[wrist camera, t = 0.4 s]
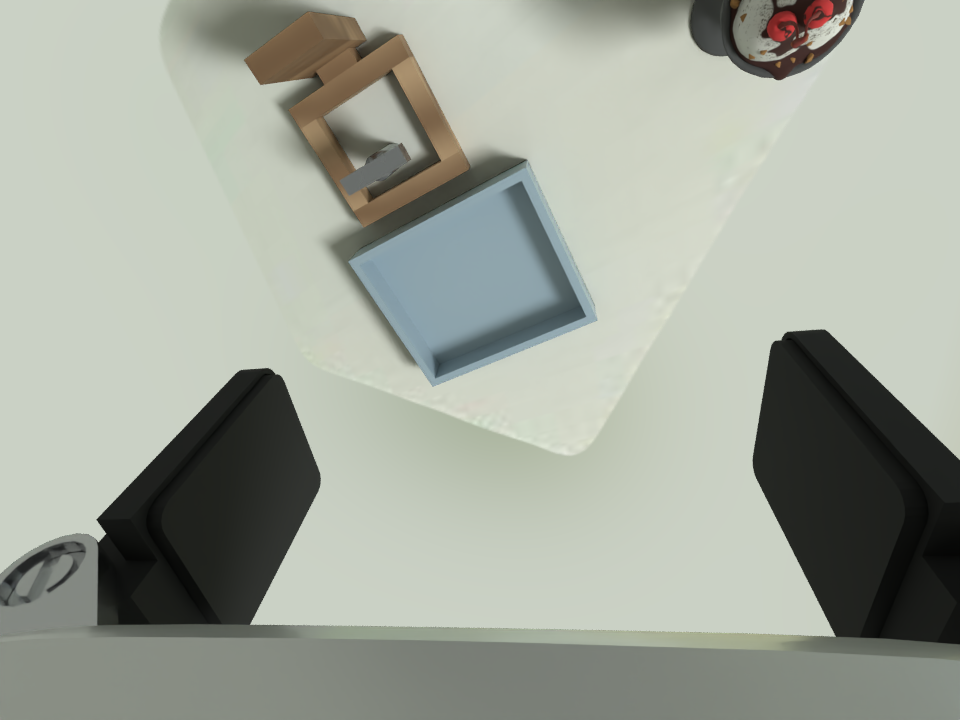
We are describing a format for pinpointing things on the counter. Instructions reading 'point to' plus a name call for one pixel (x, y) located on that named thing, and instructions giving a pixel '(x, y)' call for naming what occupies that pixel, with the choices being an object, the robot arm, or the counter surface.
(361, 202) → the ring
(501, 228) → the tray
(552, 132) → the counter surface
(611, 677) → the robot arm
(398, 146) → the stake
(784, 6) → the sundae
